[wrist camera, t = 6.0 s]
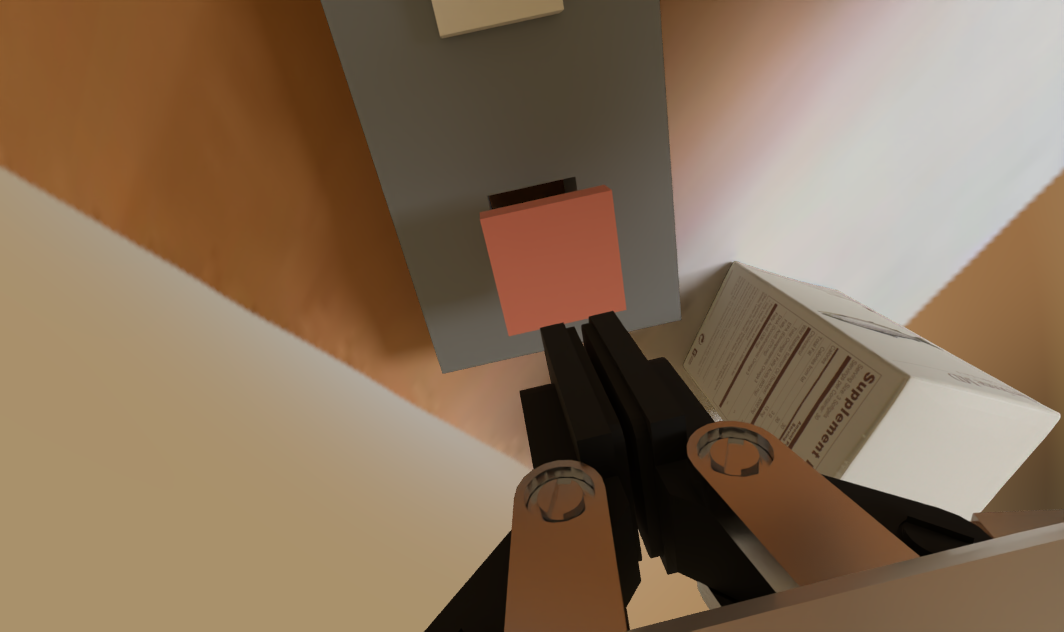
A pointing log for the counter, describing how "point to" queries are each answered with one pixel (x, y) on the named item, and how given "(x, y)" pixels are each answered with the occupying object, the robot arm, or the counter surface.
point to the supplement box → (861, 393)
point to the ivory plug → (488, 13)
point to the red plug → (555, 259)
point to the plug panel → (512, 148)
